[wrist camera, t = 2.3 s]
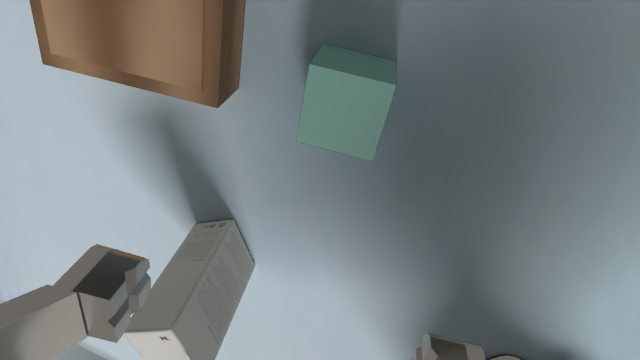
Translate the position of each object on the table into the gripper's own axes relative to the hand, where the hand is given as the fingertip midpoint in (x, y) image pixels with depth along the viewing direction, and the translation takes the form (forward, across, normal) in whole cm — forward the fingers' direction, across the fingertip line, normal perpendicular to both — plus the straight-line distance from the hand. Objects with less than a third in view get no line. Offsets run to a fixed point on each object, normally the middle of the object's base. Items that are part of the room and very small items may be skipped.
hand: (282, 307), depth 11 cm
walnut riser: (+19, -14, +4) cm, 24 cm away
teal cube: (+19, 0, 0) cm, 19 cm away
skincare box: (+19, -8, -18) cm, 28 cm away
